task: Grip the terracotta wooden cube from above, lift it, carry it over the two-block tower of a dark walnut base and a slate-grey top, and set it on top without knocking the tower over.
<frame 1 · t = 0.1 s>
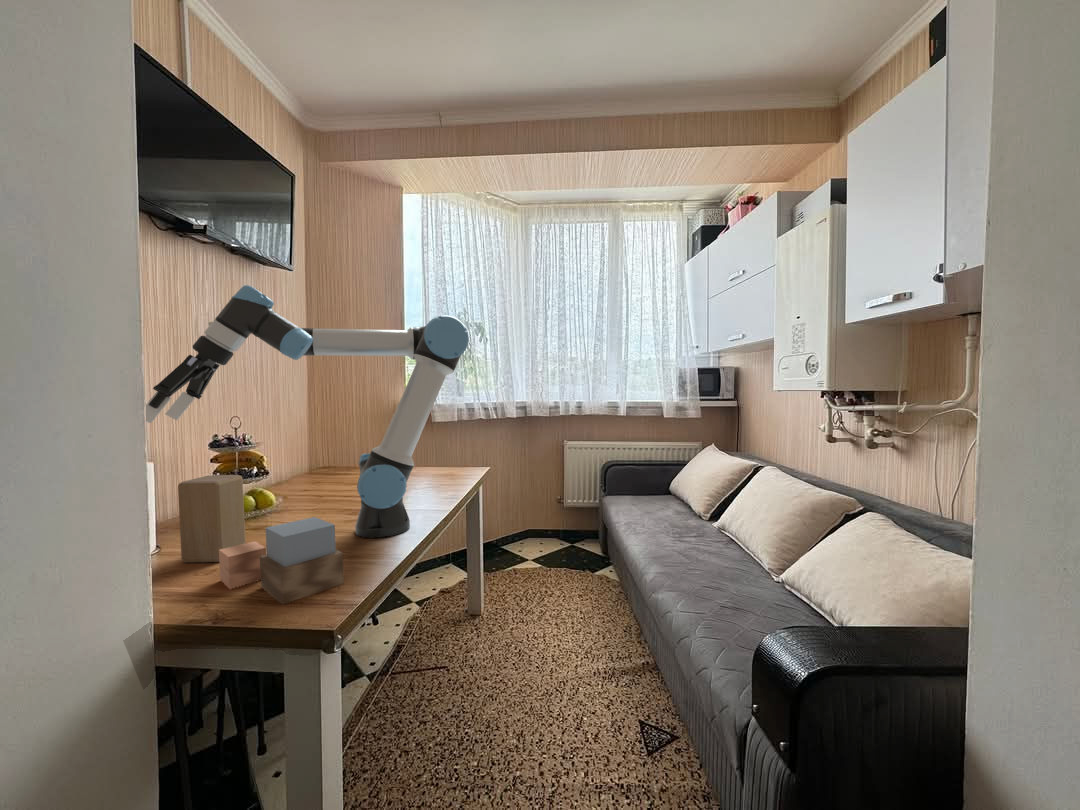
hand: (158, 418, 103), 36 cm above the table, tool tilted 35°, fingers open, 13 cm apart
tower top: (301, 554, 96), point 7 cm above the table, touching tower base
block: (215, 557, 115), on the table
tower base: (302, 586, 96), on the table, touching tower top
cube: (243, 579, 100), on the table
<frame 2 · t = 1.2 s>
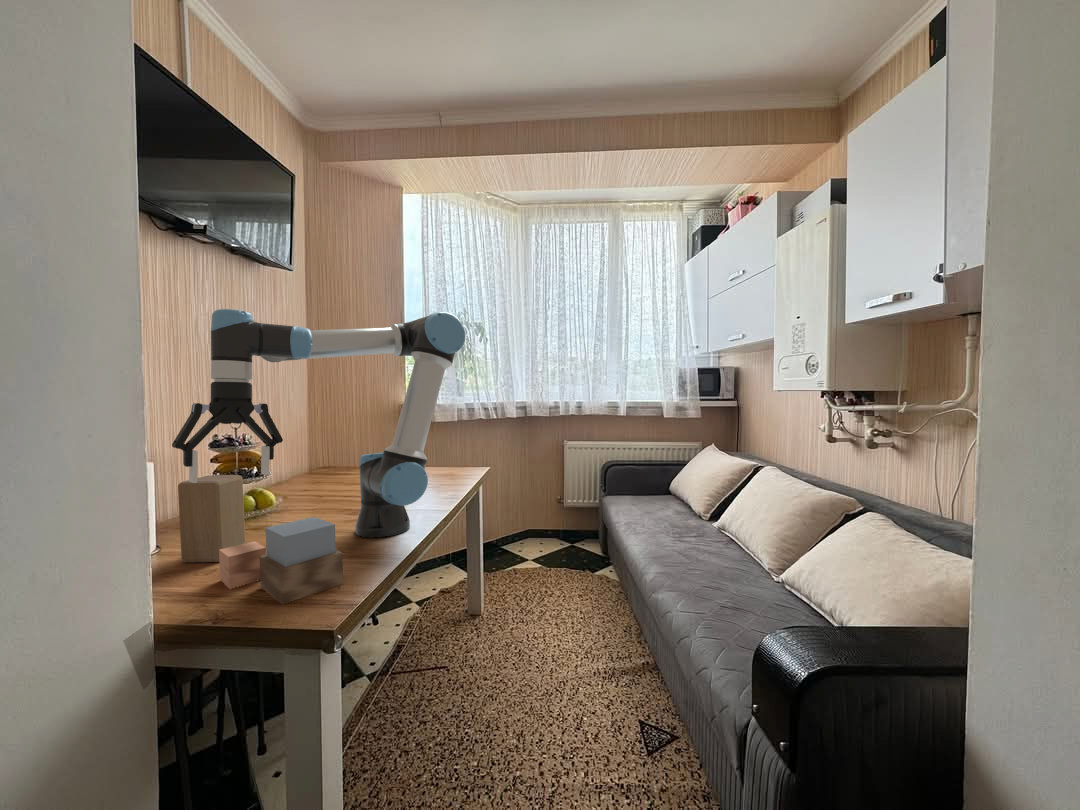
hand: (231, 478, 99), 22 cm above the table, tool pointing down, fingers open, 13 cm apart
tower top: (301, 554, 96), point 7 cm above the table
tower base: (302, 586, 96), on the table
everything else where it was.
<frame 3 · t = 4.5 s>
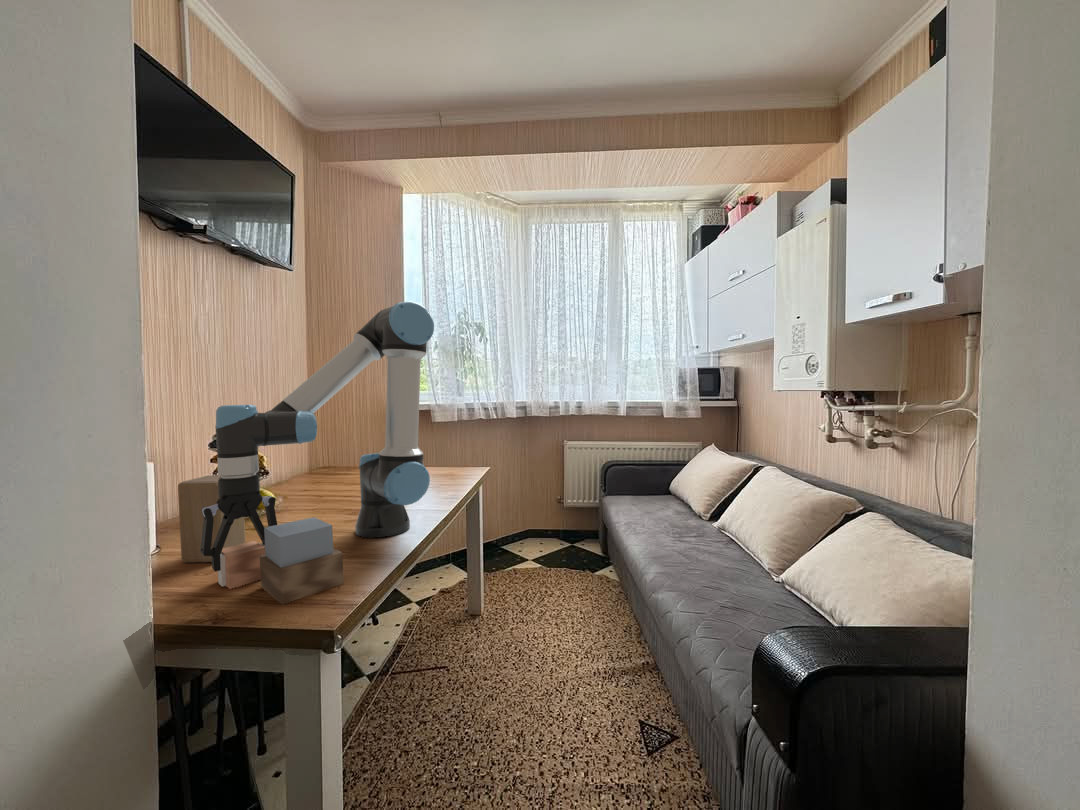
hand: (243, 578, 100), 0 cm above the table, tool pointing down, fingers closed on cube, 7 cm apart
tower top: (299, 554, 95), point 7 cm above the table, touching tower base
tower base: (302, 586, 96), on the table, touching tower top
cube: (243, 579, 100), on the table, touching gripper
everything else where it was.
when the fingers open (15 cm above the table, at t = 9.8 s): cube drops 2 cm, point 13 cm above the table.
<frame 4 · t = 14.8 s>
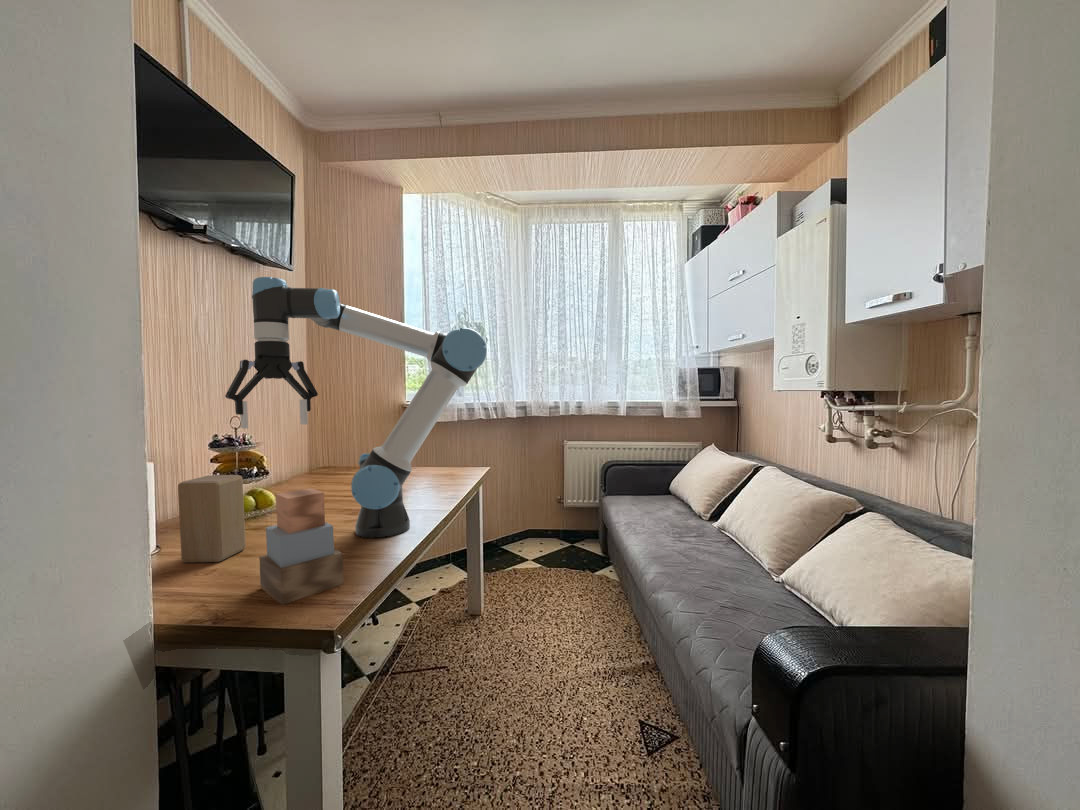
hand: (275, 426, 114), 33 cm above the table, tool pointing down, fingers open, 13 cm apart
cube: (301, 526, 95), point 13 cm above the table
everything else where it was.
at the end: cube 0.4 cm off-centre on the tower top, point 6.0 cm above the tower top's base; cube tilted 0°; tower top moved 0.5 cm from its start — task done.
